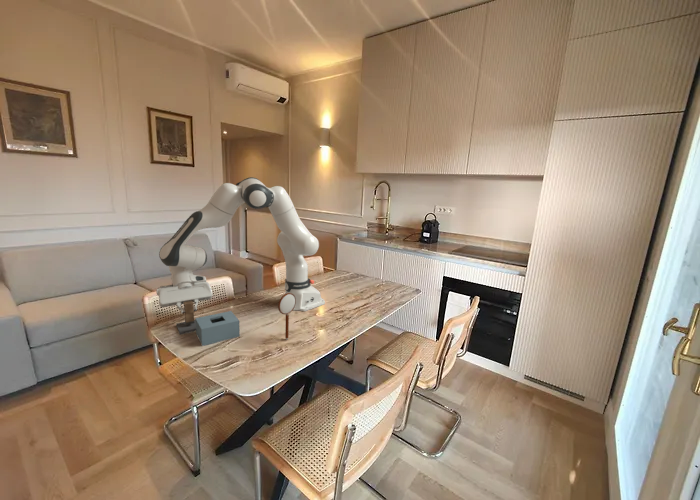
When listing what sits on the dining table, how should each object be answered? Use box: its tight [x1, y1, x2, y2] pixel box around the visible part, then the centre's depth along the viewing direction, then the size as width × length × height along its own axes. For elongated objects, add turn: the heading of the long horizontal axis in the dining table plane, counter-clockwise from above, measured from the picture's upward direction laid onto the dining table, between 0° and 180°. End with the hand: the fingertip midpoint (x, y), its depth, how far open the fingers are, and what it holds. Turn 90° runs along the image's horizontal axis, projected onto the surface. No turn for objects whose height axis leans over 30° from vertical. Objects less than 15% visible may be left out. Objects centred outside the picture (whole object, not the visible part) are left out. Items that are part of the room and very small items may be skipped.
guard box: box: [194, 310, 241, 347], centre depth 120 cm, size 14×11×7 cm
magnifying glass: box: [277, 293, 296, 341], centre depth 118 cm, size 9×2×20 cm, turn 142°
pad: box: [175, 319, 196, 335], centre depth 126 cm, size 9×9×1 cm
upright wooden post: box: [183, 301, 195, 325], centre depth 124 cm, size 3×3×9 cm
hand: (189, 311), depth 124 cm, fingers closed on upright wooden post, 3 cm apart
